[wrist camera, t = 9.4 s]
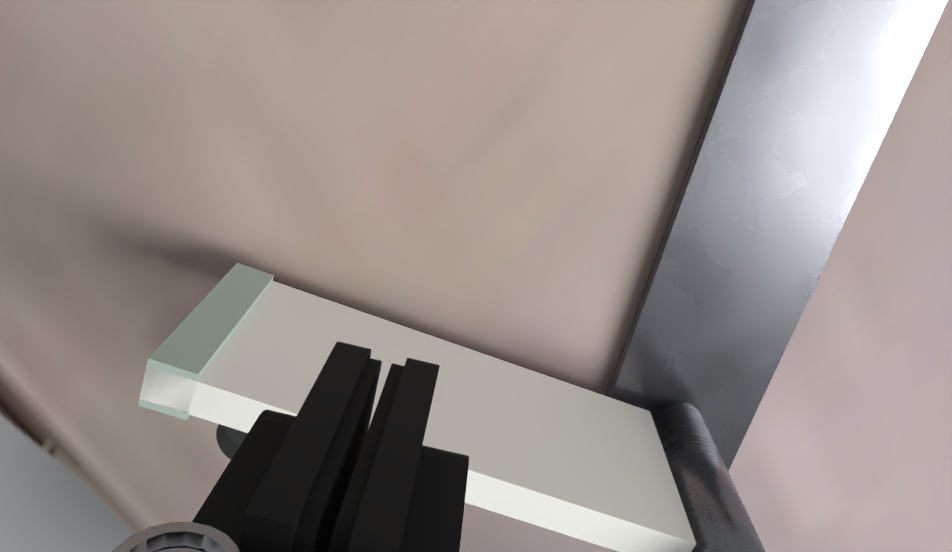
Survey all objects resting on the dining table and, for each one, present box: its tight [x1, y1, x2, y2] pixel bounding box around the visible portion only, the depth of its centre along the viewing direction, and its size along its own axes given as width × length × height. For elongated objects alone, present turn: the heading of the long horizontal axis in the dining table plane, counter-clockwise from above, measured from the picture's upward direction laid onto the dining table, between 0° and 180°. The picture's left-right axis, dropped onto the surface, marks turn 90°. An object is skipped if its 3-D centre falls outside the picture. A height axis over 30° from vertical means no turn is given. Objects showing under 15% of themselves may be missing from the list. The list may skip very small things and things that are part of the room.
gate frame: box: [217, 0, 948, 552], centre depth 17 cm, size 22×17×8 cm
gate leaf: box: [138, 263, 696, 552], centre depth 20 cm, size 14×1×6 cm, turn 69°
